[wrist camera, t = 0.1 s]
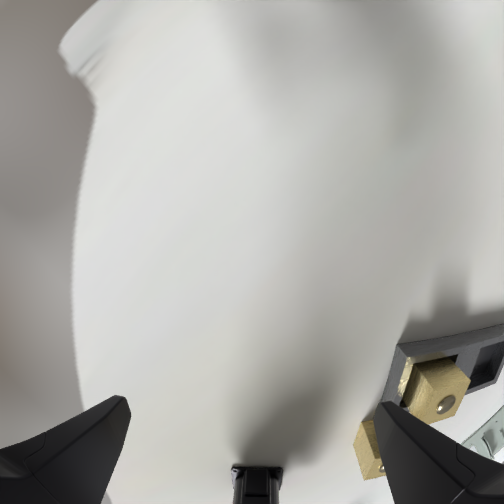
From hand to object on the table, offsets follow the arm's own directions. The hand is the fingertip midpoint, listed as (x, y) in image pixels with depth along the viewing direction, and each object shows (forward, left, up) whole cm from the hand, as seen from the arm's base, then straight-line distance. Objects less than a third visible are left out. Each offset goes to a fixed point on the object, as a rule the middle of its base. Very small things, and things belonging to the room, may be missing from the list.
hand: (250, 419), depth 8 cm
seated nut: (-10, -17, -14) cm, 25 cm away
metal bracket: (-30, -44, -15) cm, 55 cm away
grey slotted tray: (-10, -22, -15) cm, 28 cm away
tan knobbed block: (-19, -14, -15) cm, 28 cm away
